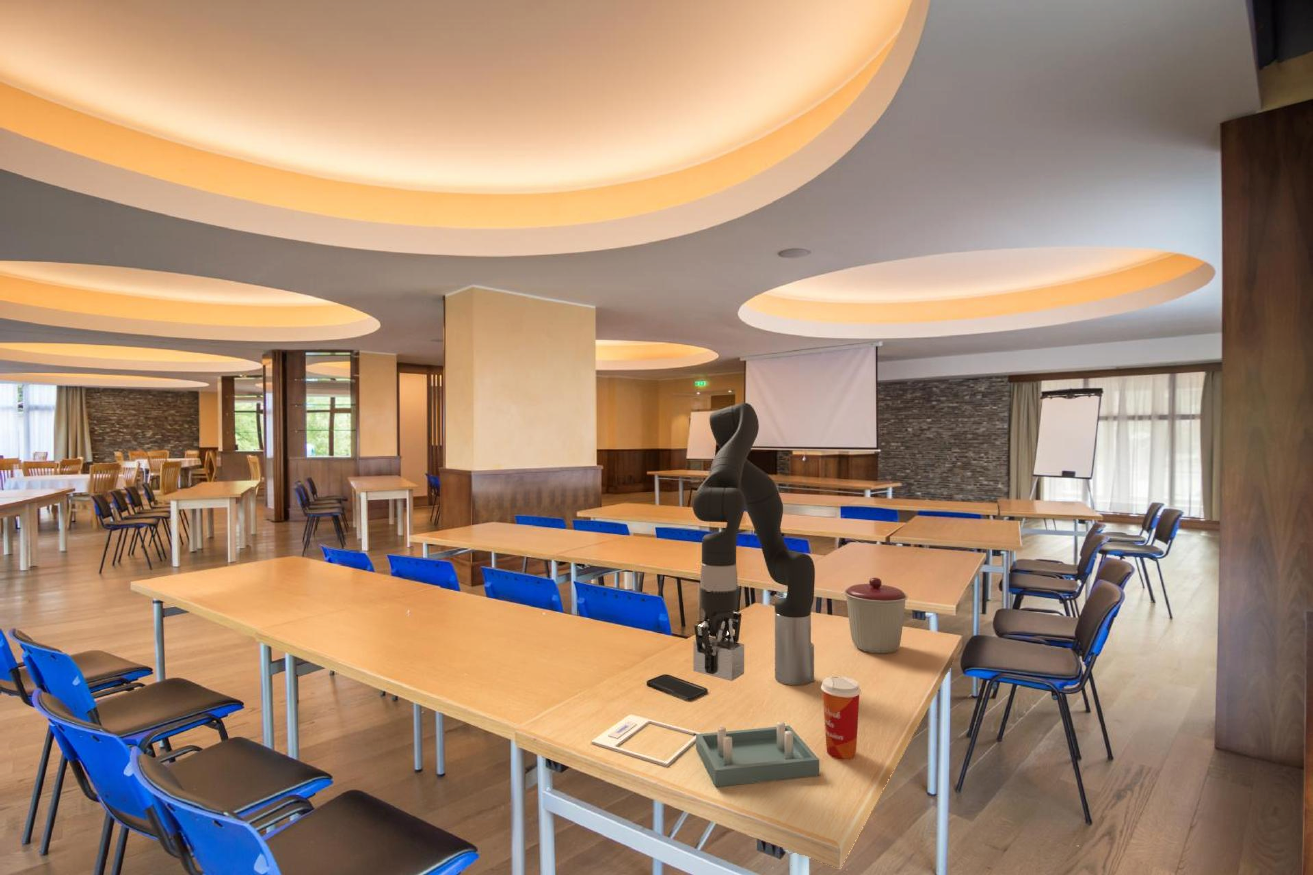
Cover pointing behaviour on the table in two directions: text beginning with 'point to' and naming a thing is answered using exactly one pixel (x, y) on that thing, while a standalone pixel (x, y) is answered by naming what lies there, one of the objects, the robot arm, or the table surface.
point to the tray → (755, 755)
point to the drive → (722, 660)
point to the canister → (875, 616)
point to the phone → (677, 687)
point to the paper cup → (841, 716)
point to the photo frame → (629, 728)
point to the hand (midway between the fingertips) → (718, 668)
